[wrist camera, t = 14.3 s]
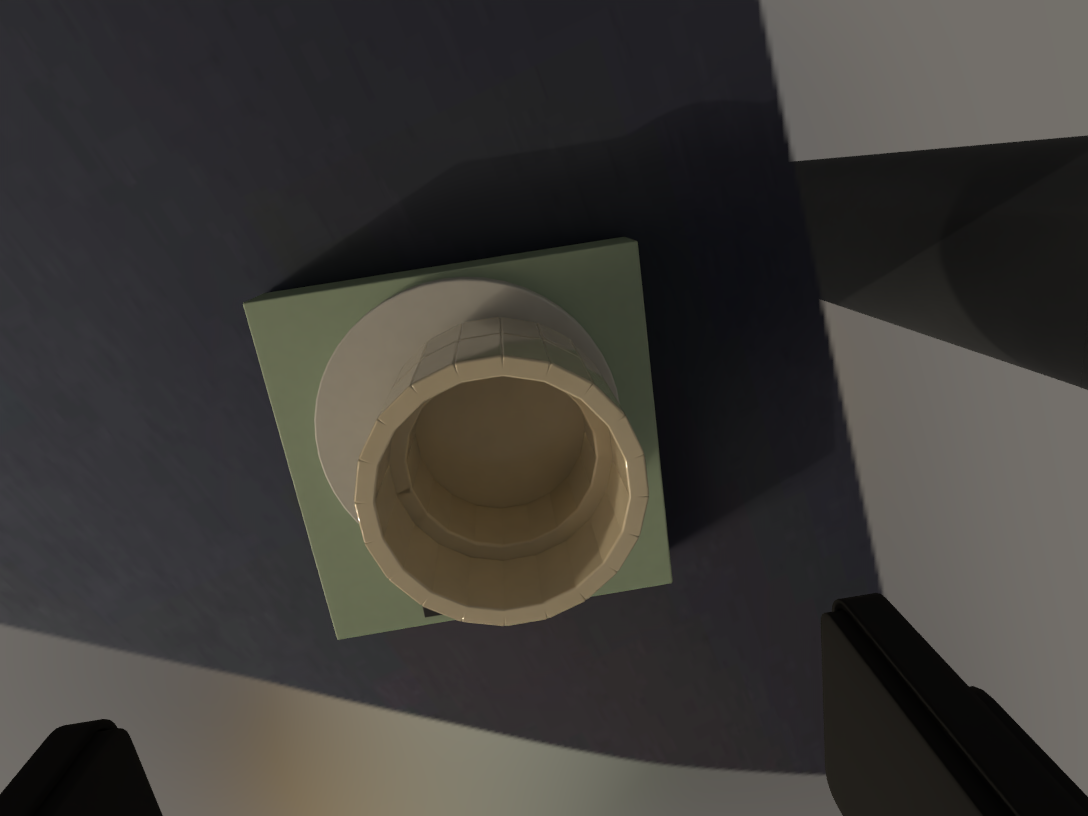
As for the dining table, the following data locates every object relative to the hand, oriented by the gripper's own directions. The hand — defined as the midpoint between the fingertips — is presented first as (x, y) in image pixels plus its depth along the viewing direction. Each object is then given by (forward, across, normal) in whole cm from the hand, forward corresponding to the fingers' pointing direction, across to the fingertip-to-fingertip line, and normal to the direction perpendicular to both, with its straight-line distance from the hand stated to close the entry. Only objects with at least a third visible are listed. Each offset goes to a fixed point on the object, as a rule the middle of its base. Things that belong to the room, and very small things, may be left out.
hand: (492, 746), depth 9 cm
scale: (+16, +1, +1) cm, 16 cm away
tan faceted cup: (+13, 0, 0) cm, 13 cm away
